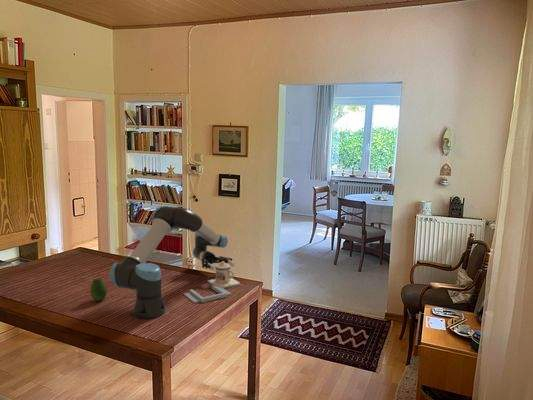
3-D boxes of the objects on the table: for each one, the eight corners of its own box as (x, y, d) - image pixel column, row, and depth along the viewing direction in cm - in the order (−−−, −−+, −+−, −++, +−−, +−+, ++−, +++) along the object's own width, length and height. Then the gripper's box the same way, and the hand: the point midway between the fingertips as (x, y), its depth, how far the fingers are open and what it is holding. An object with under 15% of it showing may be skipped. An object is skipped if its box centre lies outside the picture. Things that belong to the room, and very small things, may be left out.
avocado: (91, 298, 211) (90, 276, 209) (107, 296, 214) (106, 275, 212) (90, 304, 204) (89, 281, 202) (107, 302, 206) (106, 280, 204)
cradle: (195, 304, 206) (195, 300, 206) (183, 294, 218) (183, 291, 218) (232, 295, 219) (232, 291, 218) (219, 286, 231) (219, 283, 231)
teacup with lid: (212, 281, 236) (212, 262, 234) (220, 277, 244) (220, 258, 242) (229, 285, 230) (229, 265, 229) (237, 280, 238) (237, 261, 237)
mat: (219, 289, 227) (219, 287, 227) (207, 281, 239) (207, 280, 238) (240, 284, 235) (240, 282, 235) (228, 277, 247) (228, 276, 246)
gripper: (224, 260, 262) (241, 269, 245) (189, 266, 248) (204, 276, 231) (225, 249, 261) (241, 257, 243) (189, 254, 247) (204, 263, 229)
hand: (223, 266), depth 237 cm, fingers open, 13 cm apart
